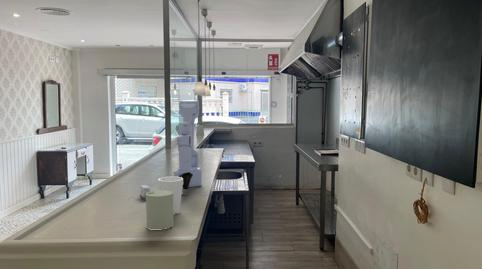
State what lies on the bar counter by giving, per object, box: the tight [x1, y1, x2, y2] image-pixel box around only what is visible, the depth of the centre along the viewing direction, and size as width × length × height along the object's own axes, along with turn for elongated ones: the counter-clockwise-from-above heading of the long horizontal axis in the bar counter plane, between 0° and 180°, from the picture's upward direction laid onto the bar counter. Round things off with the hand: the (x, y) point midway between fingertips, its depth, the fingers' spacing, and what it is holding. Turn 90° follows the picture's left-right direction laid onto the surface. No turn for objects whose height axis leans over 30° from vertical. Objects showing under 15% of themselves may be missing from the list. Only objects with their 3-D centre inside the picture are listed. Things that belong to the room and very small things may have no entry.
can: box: [145, 189, 175, 229], centre depth 120 cm, size 9×9×12 cm
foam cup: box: [157, 176, 183, 215], centre depth 136 cm, size 10×9×13 cm
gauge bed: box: [139, 184, 186, 202], centre depth 162 cm, size 18×10×5 cm, turn 118°
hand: (185, 189), depth 168 cm, fingers closed
